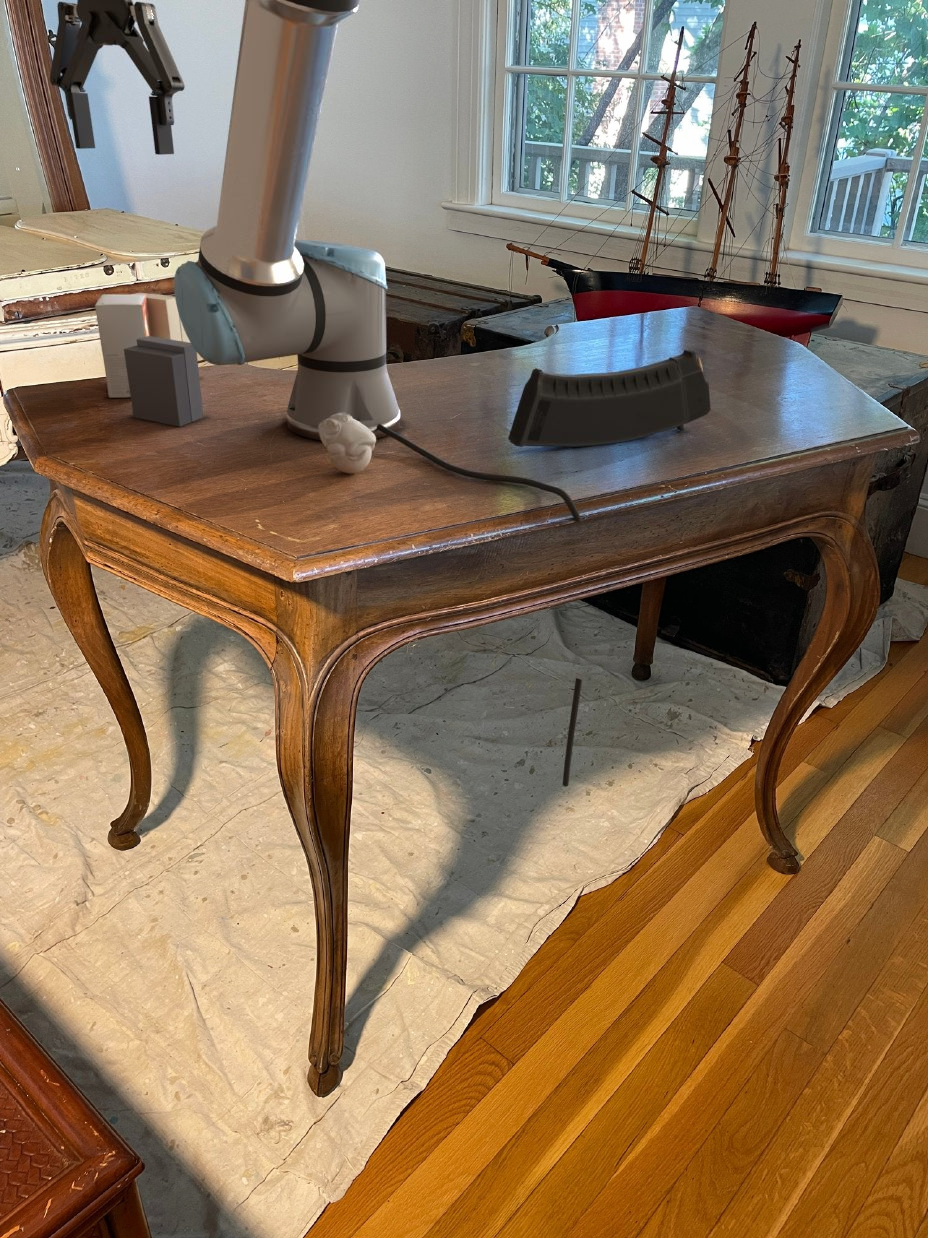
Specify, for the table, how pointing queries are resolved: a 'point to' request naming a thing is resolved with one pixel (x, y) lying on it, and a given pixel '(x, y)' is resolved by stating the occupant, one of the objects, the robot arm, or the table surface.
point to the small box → (120, 335)
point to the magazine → (610, 404)
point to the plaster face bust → (347, 442)
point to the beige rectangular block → (164, 317)
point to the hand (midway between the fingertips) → (124, 151)
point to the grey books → (164, 381)
